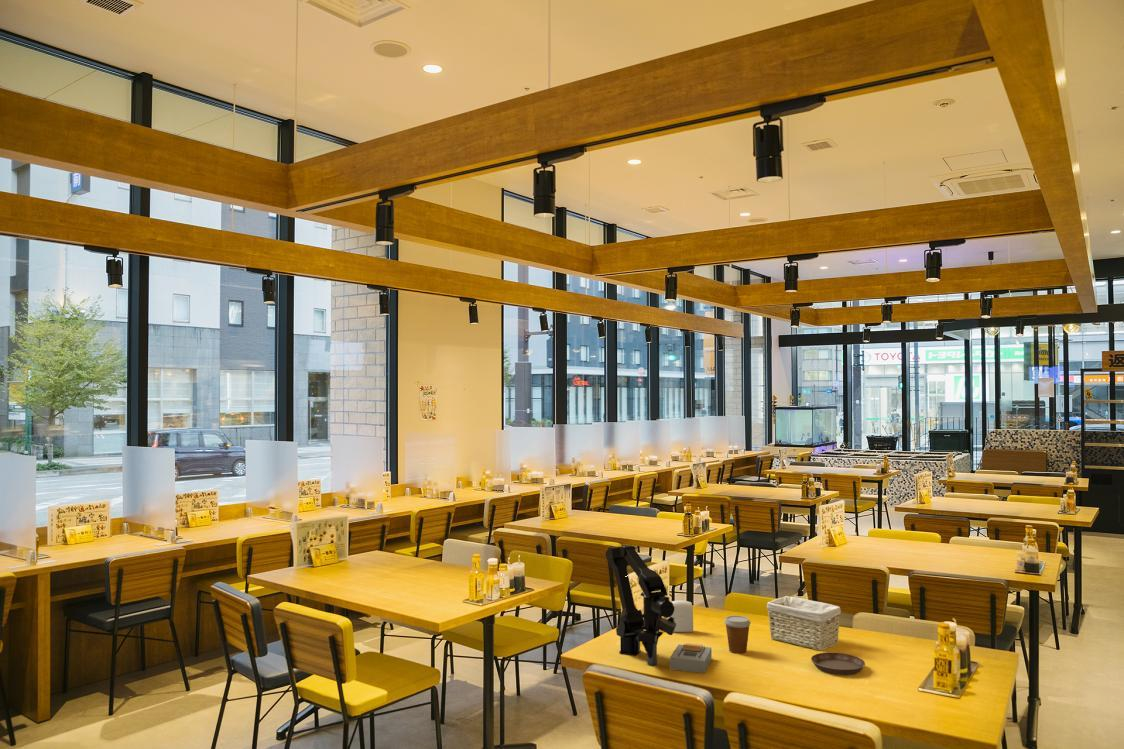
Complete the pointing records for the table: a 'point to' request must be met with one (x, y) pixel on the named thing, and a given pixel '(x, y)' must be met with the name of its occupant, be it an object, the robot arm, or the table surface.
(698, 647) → the shutter
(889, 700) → the table surface
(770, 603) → the storage basket
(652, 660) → the grey cylinder
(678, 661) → the socket
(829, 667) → the plant saucer
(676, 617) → the photo printer
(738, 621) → the disposable coffee cup
